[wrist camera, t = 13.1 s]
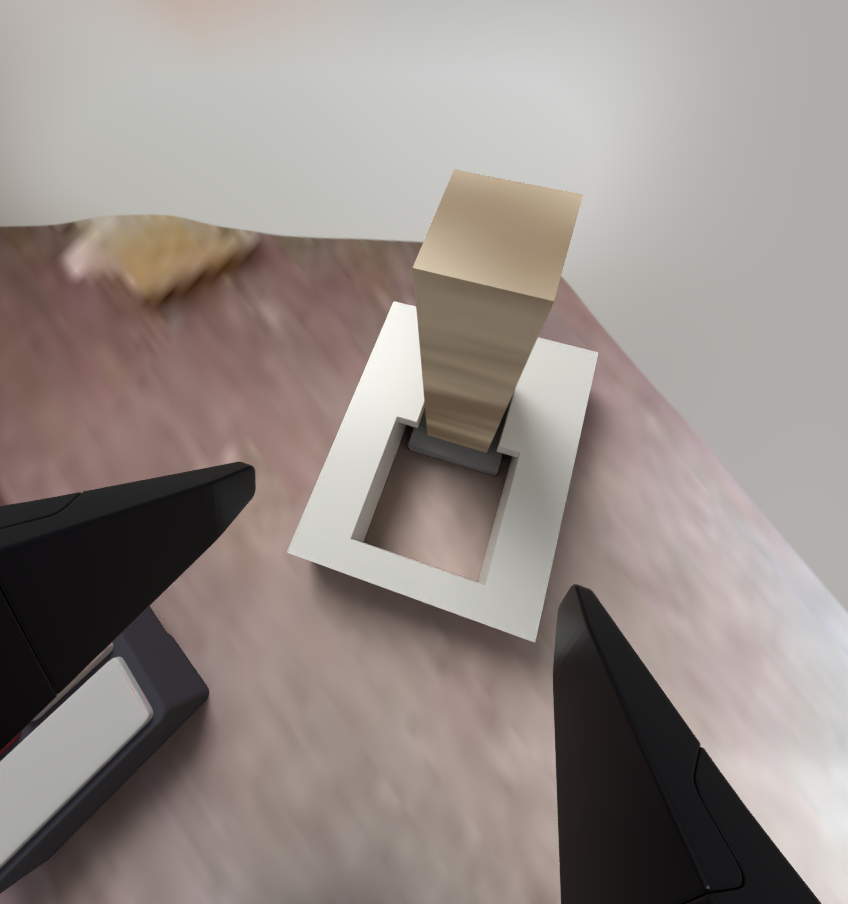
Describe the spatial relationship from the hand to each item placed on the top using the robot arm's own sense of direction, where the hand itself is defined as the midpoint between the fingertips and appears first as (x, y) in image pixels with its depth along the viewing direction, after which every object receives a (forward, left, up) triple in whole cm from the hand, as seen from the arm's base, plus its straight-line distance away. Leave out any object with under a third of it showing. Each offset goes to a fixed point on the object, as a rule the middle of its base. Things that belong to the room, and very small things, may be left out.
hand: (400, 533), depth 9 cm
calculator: (-6, +22, -14) cm, 26 cm away
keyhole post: (+8, -3, -13) cm, 16 cm away
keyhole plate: (+6, -2, -13) cm, 15 cm away
